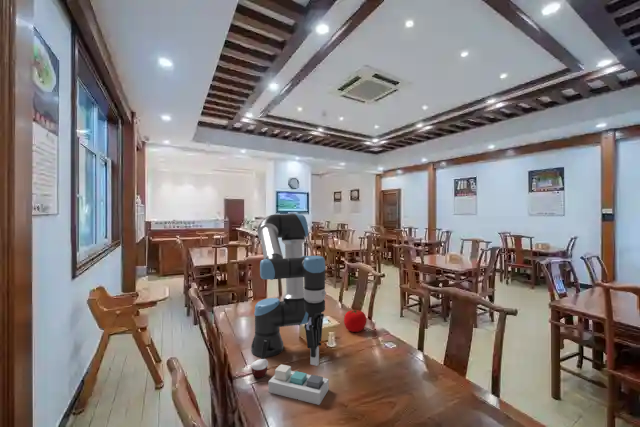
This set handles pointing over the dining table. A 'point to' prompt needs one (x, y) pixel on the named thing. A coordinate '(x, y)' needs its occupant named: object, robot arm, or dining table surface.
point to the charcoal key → (315, 382)
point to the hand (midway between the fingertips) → (314, 364)
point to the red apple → (355, 320)
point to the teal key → (299, 378)
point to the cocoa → (260, 364)
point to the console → (298, 390)
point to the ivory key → (283, 372)
